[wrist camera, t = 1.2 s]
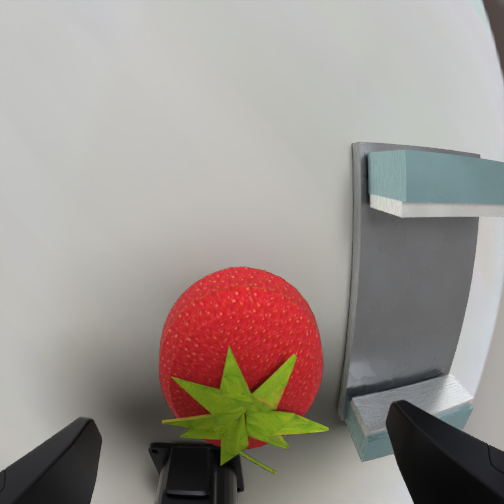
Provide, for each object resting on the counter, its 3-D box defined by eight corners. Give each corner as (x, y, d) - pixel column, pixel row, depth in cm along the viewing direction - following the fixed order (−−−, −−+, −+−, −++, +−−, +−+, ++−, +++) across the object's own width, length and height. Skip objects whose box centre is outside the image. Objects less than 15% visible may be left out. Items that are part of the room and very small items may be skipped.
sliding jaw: (480, 206, 14) (522, 217, 11) (368, 206, 14) (405, 218, 10) (480, 162, 13) (524, 166, 10) (367, 152, 13) (405, 149, 10)
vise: (435, 387, 19) (466, 427, 14) (337, 411, 18) (357, 462, 14) (469, 154, 14) (526, 156, 10) (352, 143, 14) (399, 135, 10)
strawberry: (303, 237, 15) (401, 343, 6) (286, 366, 17) (324, 517, 8) (181, 230, 15) (98, 333, 5) (182, 362, 17) (150, 515, 7)
